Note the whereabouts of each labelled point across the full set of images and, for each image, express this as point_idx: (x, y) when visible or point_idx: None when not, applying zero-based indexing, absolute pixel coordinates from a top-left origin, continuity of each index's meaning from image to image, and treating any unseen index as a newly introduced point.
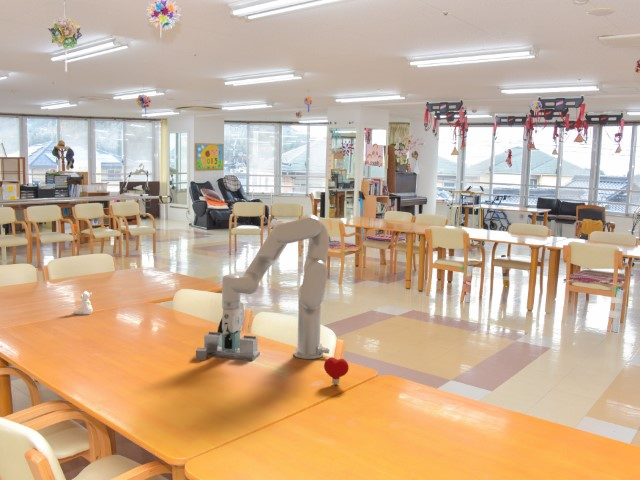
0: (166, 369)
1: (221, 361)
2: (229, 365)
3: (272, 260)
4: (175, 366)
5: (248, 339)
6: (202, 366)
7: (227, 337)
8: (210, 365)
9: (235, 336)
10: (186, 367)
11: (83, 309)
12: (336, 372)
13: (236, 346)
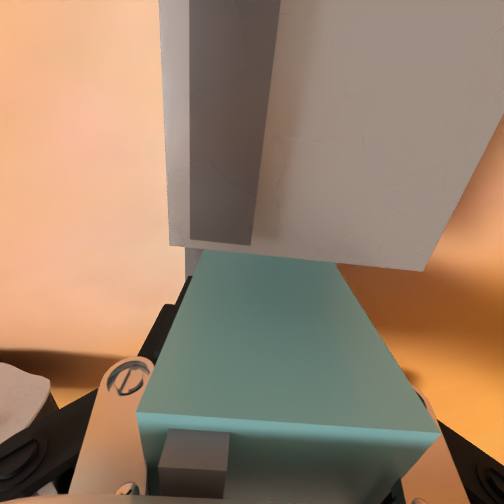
0: (487, 442)
1: (397, 287)
2: (494, 216)
3: None
4: (454, 429)
5: (458, 40)
6: (477, 350)
7: (485, 458)
8: (468, 321)
9: (394, 380)
10: (477, 398)
11: None
12: None
13: (300, 262)
